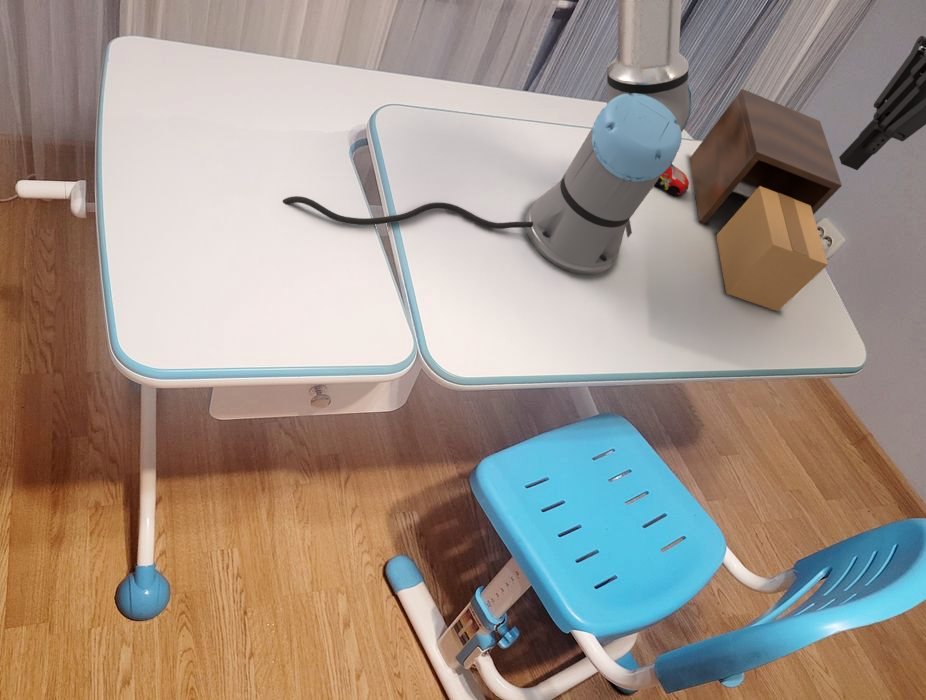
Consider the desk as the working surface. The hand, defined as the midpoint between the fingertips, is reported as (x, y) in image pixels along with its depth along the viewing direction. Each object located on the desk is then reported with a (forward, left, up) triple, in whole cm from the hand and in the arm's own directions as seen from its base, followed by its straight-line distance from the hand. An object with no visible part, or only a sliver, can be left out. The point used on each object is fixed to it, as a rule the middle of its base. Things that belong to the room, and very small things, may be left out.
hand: (848, 163), depth 107 cm
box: (+2, +4, -26) cm, 27 cm away
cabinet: (+1, +21, -26) cm, 34 cm away
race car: (-16, +19, -27) cm, 36 cm away
